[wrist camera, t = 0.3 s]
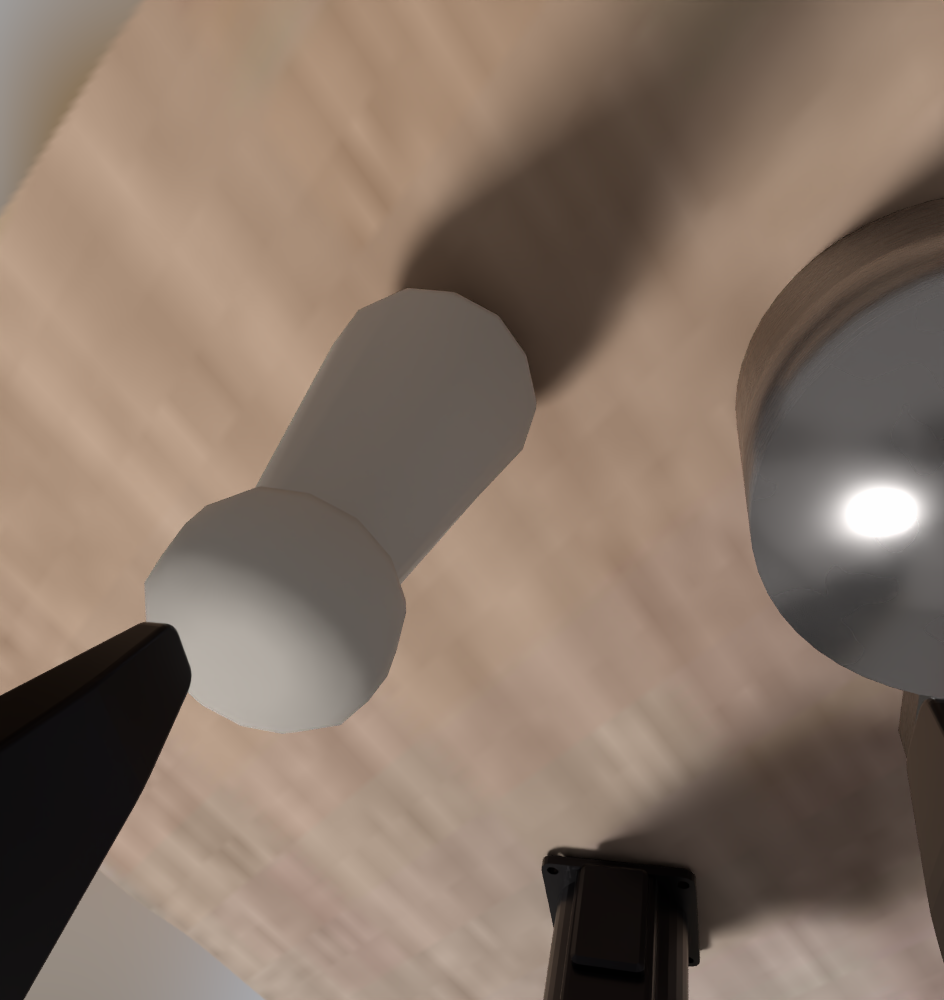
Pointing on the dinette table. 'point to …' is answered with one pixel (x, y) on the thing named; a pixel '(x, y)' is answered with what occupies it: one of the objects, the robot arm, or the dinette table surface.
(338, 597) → the salt shaker
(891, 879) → the dinette table surface
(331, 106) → the dinette table surface
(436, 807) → the dinette table surface
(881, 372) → the cooker pot
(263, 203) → the dinette table surface
